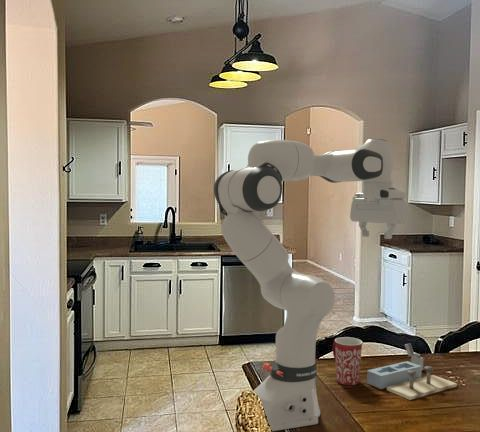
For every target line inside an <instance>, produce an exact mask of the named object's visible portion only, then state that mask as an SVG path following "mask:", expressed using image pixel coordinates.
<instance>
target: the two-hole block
mask: <svg viewBox="0 0 480 432" xmlns="http://www.w3.org/2000/svg"><path fill="white" fill-rule="evenodd" d="M408 370H413V371H416V375H414V380H416V379H419V378H422V371H423V370H422V366H420V365H417V364H414V363H411V361H408V360H407V361H401V362H398V363H397V362H396V363H393V364H389V365H384V366H381V367H380V366H379V367H377V368H376V367H375V368H372V369H367V371H366V384H368V385H370V386H373V387H375V388H377V389H380V390H384V389H387V387H389V386H393V385H396V384H400V383H404V382H408V381H410V374H408V373H407V371H408Z"/></svg>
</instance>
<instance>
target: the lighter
mask: <svg viewBox="0 0 480 432" xmlns="http://www.w3.org/2000/svg"><path fill="white" fill-rule="evenodd" d="M404 347H405V350H406V353H407V356H408V357H410V359H411V361H410V362H411V363H414V364H417V365H420V366H422V371H424V357H422V356H421V353H417V352H414V350H413V346H412V344H411V343H410V342H409V343H405V344H404Z"/></svg>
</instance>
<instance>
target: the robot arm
mask: <svg viewBox="0 0 480 432" xmlns="http://www.w3.org/2000/svg"><path fill="white" fill-rule="evenodd" d="M393 157H394V155H393V149H392V145H391V142H389V141H387V140H385V139H383V138H382V139H381V138H370V139H367V140H366V141H365V142H364V143H363V144H362V145H360V146H358V147H356V148H352V149H344V150H330V151H328V152H325V153H323V154H315V153H314V150H313V149H312V148H311V146H310V145H309V144H306V143H304V142H301V141H296V140H289V139H288V140H287V139H272V140H271V139H269V140H268V139H267V140H263V141H257V142H256V143H254V144H253V145H252V146H251V147H250V149H249V152H248V155H247V165H246V167H245V168H239V169H231V170H228V171H225V172H223V173H222V174H220V175H219V176H218V177H217V178H216V180H215V181H214V185H213V195H214V198H215V200H216V201H215V202H216V203H217V204H218V207H219V211H220V213H221V214H223V215H224V216H226V217H225V218H224V219H223V221H222V223H221V226H220V231H221V235H222V237H223V238H224V240H225V242H226V243H227V245H228V246H229V248H230V249H231V251H232V252H233V253H234V254H235V256H236V257H237V258H238V260H239V261H240V262H241V263H242V264H243V265H244V266H245V267H246V269H247V270H248V271H249V272H250V273H251V274H252V275H253V277H254V278H255V279H256V281H257V282H258V284H259V286H260V293H261V296H262V298H263V299H264V300H265V301H266V302H268V303H269V304H271V305H272V306H273V307H275V308H277V309H281V310H284V311H286V318H285V322H284V325H283V326H282V327H280V328H279V329H278V330H277V332H276V334H275V359H274V360H273V363H272V364H269V363H267V362H265V363H263V365H262V369H263V371H266V372H267V373H269V375H268V376H267V377H266V378H265V379H264V380H263V381H262V382H261V383H260V384H259V385H258V386H257V387H255V389H254V390H252V392H255V393H256V394H257V395H258V396H259V398H260V400H261V402H262V405H263V408H264V411H265V414H266V416H267V420H268V423H269V425H270V428H271V430H272V431H271V432H277V431H282V430H288V429H295V428H301V427H307V426H314V425H317V424H319V417H320V416H321V409H320V406H319V401H318V396H317V387H316V384H317V382H316V378H317V375H318V374H317V370H318V369H317V362H316V348H317V347H316V346H317V345H316V344H317V335H318V330H319V327H320V324H321V322H322V321H323V319H324V318H325V317H326V316H328V315H329V314H330V313H331V311H333V308H334V306H335V302H336V295H335V290H334V288H333V286H332V285H331V284H330V283H328V282H327V281H325V280H323V279H321V278H319V277H318V276H313V275H310V274H305V273H301V272H298V271H297V270H295V269H293V268H292V266H291V265H290V263H289V259H290V257H289V256H290V254H289V252H288V250H287V249H286V248H285V246H283V244H282V243H281V241H280V240H278V238H277V237H276V236H275V234H273V232H272V231H271V230H270V229H269V228H268V226H267V225H265V223H264V221H263V220H262V217H261V213H260V212H264V211H268V210H271V209H272V208H275V207H276V206H277V205H278V204H279V202H280V201H281V198H282V195H283V182H295V181H296V182H298V181H301V180H302V181H303V180H307V179H308V178H310V176H317V177H320V178H322V179H323V180H325V181H327V182H329V183H333V184H334V183H335V184H336V183H343V182H345V183H346V182H362V192H357V193H355V194H354V195H353V196H352V201H351V205H350V213H349V218H350V220H351V222H356V223H358V227H359V228H360V231H361V237H365V238H367V237H369V236H370V231H369V230H368V229H367V224H368V223H375V224H386V227H387V228H388V229H387V231H386V232H384V234H383V235H384V236H383V237H384V239H385V240H391V239H392V238H393V233H394V231H395V230H396V225H404V224H405V223H406V221H407V218H408V215H407V214H408V213H407V212H408V211H407V209H408V208H407V203H406V201H405V200H404V199H406V196H407V193H406V191H405V190H402V189H399V188H397V187H394V186H393V179H392V172H393V169H394V166H393V165H394V163H393V162H394V160H393V159H394V158H393Z"/></svg>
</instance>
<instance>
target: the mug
mask: <svg viewBox="0 0 480 432" xmlns="http://www.w3.org/2000/svg"><path fill="white" fill-rule="evenodd" d="M363 344H364V343H363V341H362V340H361V339H359V338H357V337H356V338H355V337H350V336H344V337H343V336H342V337H336V338H335V339H334V342H333V343H332V355H333V357H334V363H335V374H336V375H335V378H336V379H335V380H336V382H337V383H339V384H340V385H345V386H355V385H358V384H359V382H360V371H361V361H362V351H363V350H362V348H363Z"/></svg>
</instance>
